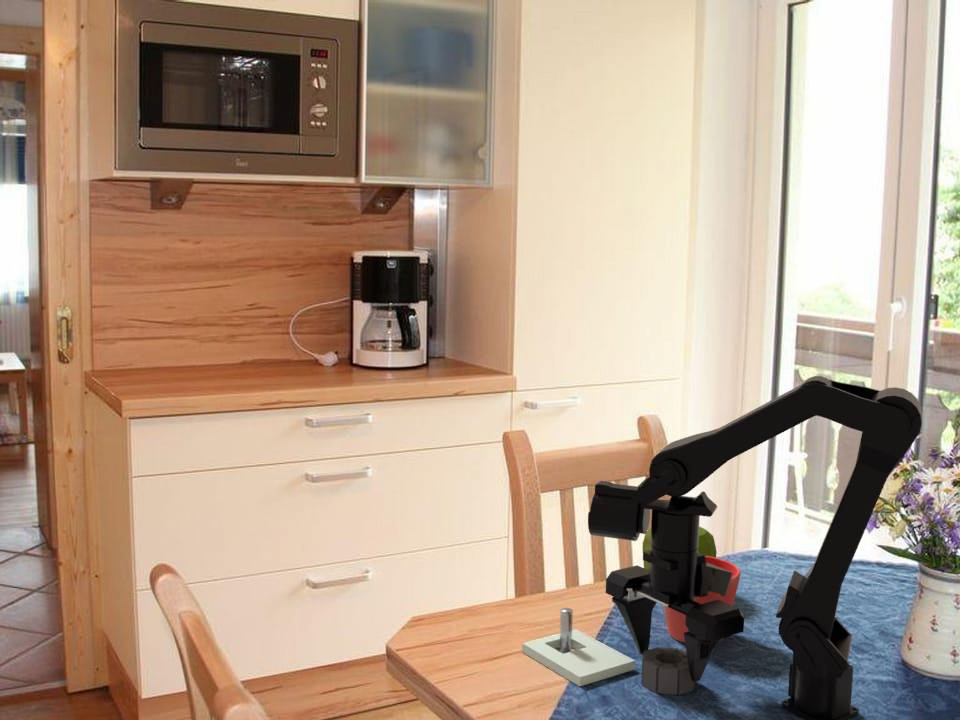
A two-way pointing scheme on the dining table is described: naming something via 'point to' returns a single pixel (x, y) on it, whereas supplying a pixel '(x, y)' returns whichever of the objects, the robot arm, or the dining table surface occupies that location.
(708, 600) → the flower pot
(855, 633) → the dining table surface
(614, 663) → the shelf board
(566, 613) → the grey metallic cylinder
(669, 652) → the grey octagonal ring
